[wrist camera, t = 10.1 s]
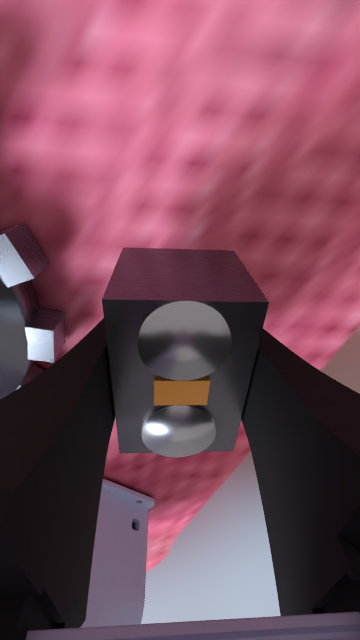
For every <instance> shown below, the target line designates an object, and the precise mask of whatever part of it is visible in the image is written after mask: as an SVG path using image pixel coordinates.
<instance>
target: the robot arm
mask: <svg viewBox="0 0 360 640" xmlns="http://www.w3.org/2000/svg"><path fill="white" fill-rule="evenodd" d="M241 419H242V422H243V425H244V428H245V431H246V435H247V438H248V441H249V445H250V448H251V452H252V457H253V461H254V465H255V470H256V474H257V479H258V484H259V490H260V495H261V499H262V505H263V510H264V515H265V521H266V526H267V532H268V537H269V543H270V548H271V554H272V561H273V567H274V574H275V580H276V586H277V592H278V600H279V607H280V613H281V616H276V617H260V618H259V617H258V618H243V619H242V618H241V619H224V620H207V621H189V622H173V623H154V624H141V620H142V615H143V607H144V599H145V579H146V557H147V534H148V512H149V509H151V508H152V507H154V506H155V500H154V499H153V498H151V497H149V496H146V495H144V494H141V493H138V492H136V491H133V490H131V489H128V488H126V487H123V486H121V485H118V484H116V483H113V482H111V481H108V480H106V479H103V475H104V468H105V461H106V455H107V449H108V445H109V440H110V436H111V432H112V428H113V424H114V420H115V407H114V399H113V390H112V382H111V373H110V364H109V356H108V347H107V338H106V330H105V321H104V318H103V319H102V320H101V321H100V322H99V323H98V324H97V325H96V326H95V327H94V328H93V329H92V330H91V331H90V332H89V333H88V334H87V335H86V336H85V337H84V338H83V339H82V340H81V341H80V342H79V343H78V344H76V345H75V346H74V347H73V348H72V349H71V350H70V351H69V352H68V353H66V354H65V355H64V356H63V357H62V358H60V359H59V360H58V361H57V362H56V363H54V364H53V365H52V366H50V367H49V368H48V369H46V370H45V371H44V372H42V373H41V374H40V375H38V376H37V377H35V378H34V379H32V380H31V381H29V382H28V383H26V384H25V385H23V386H22V387H20V388H19V389H17V390H15V391H14V392H12V393H10V394H9V395H7V396H5V397H4V398H2V399H0V640H360V394H359V393H357V392H355V391H353V390H351V389H350V388H348V387H346V386H344V385H342V384H341V383H339V382H337V381H336V380H334V379H332V378H331V377H329V376H327V375H326V374H324V373H322V372H321V371H319V370H318V369H316V368H315V367H313V366H312V365H310V364H309V363H307V362H306V361H305V360H303V359H302V358H300V357H299V356H297V355H296V354H295V353H293V352H292V351H291V350H289V349H288V348H287V347H285V346H284V345H283V344H282V343H280V342H279V341H278V340H277V339H275V338H274V337H273V336H272V335H270V334H269V333H268V332H267V331H265V330H264V329H262V333H261V337H260V341H259V345H258V350H257V354H256V358H255V362H254V366H253V370H252V375H251V379H250V383H249V387H248V391H247V396H246V400H245V404H244V408H243V412H242V416H241Z"/></svg>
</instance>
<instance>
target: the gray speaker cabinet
mask: <svg viewBox="0 0 360 640" xmlns="http://www.w3.org/2000/svg"><path fill="white" fill-rule="evenodd" d="M268 303H269V302H268V300H267V299H266V297H265V296H264V294H263V293H262V291H261V290H260V288H259V287H258V286H257V284H256V283H255V281H254V280H253V278H252V277H251V275H250V274H249V272H248V271H247V269H246V268H245V267H244V265H243V264H242V262H241V261H240V259H239V258H238V256H237V255H236V253H235V252H234V251H224V250H188V249H153V248H123V249H122V252H121V254H120V257H119V259H118V262H117V264H116V266H115V269H114V271H113V274H112V276H111V279H110V281H109V284H108V286H107V288H106V291H105V293H104V296H103V298H102V304H103V313H104V321H105V330H106V338H107V347H108V356H109V364H110V373H111V382H112V390H113V399H114V407H115V416H116V425H117V433H118V442H119V451H120V453H153V452H154V453H156V454H159V455H162V456H166V457H187V456H191V455H194V454H197V453H199V452H204V451H233V450H234V446H235V442H236V437H237V433H238V429H239V425H240V421H241V416H242V412H243V408H244V404H245V400H246V396H247V391H248V387H249V383H250V379H251V375H252V370H253V366H254V362H255V358H256V354H257V350H258V345H259V341H260V337H261V333H262V329H263V324H264V320H265V316H266V312H267V308H268Z"/></svg>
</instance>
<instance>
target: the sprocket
mask: <svg viewBox="0 0 360 640" xmlns="http://www.w3.org/2000/svg"><path fill="white" fill-rule="evenodd" d="M48 264H49V262H48V261H47V259H46V258H45V256H44V254H43V253H42V251H41V249H40V248H39V246H38V244H37V243H36V241H35V239H34V238H33V236H32V235H31V233H30V231H29V230H28V228H27V226H26V225H25V223H22V224H20V225H17V226H14V227H12V228H9V229H6V230H4V231H1V232H0V399H2V398H4V397H5V396H7V395H9V394H10V393H12V392H14V391H15V390H17V389H19V388H20V387H22V386H23V385H25V384H26V383H28V382H29V381H31V380H32V379H34V378H35V377H37V376H38V375H40V374H41V373H42V372H44V371H45V370H43V369H41V368H40V367H38V366H36V365H34V361H35V360H38V361H46V362H55V360H56V358H57V356H58V354H59V352H60V350H61V348H62V346H63V344H64V342H65V312H60V311H53V310H46V309H40V308H39V306H38V302H37V299H36V296H35V292H34V289H33V287H32V285H31V283H30V280H31V279H34V278H35V277H36V276H37V275H38V274H39V273H40V272H41V271H42V270H43V269H44V268H45V267H46V266H47V265H48Z"/></svg>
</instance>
